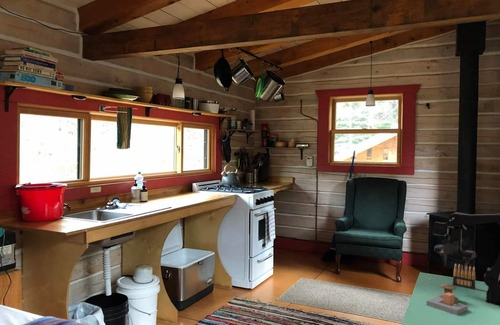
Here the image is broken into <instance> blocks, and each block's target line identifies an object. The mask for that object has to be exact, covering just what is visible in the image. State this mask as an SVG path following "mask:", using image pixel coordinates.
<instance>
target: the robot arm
mask: <svg viewBox="0 0 500 325" xmlns="http://www.w3.org/2000/svg"><path fill="white" fill-rule="evenodd" d="M433 223H434V224H433V228H432V234H433V235H434V236H442V237H446V236H447V235H448V239H447V240H446V243H445V244H437V245H435V246H434V248H433V250H434V252H436V253H437V254H438V255H440V259H441V260H442V264H443V266H444V267H446V266H447V261H448V255H453V254H458V255H462V256H463V257H461V258H462V264H461V269H462V270H463V271H464V272H465V268H466V266H467V267H468V264H469V263H470V260H473V259H475V258H477V252H476V251H474V250H469V249H467V250H463V247H462V243H463V240H464V239H462V238H463V237H462V235H463V234H462V233H463V231H466V230H467V229H468V228H467V227H466V226H465V225H464V224H468V223H496V224H498V225H499V226H500V213H491V214H490V213H485V214H484V213H483V214H469V213H463V212H454V213H451V214H450V215H449V216H448V220H447V221H446V222H439V221H435V222H433ZM452 225H454V226H452ZM483 282H484V285H485V286H487V290H486V298H485V299H486V300H485V302H487V303H490V304H492V305H498V306H500V252H499V253H498V255H497V258H496V260H495V261H494V264H493V266H492V267H491V268H490V267H487V269H486V270H485V273H484V275H483Z"/></svg>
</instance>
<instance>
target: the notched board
mask: <svg viewBox="0 0 500 325" xmlns="http://www.w3.org/2000/svg"><path fill="white" fill-rule="evenodd" d="M426 306H429V307H432V308H435V309H438V310H440V311H444V312H447V313H449V314H453V315H456V316H458V315H460V314H462V313H465V312H467V311H468V310H469V308H468V307H469V306H468V305H466V304H463V303H460V302H457V303H454V305H453V306H449V305H446V304H443V298H441V297H438V296H436V297H433V298H430V299H427V300H426Z"/></svg>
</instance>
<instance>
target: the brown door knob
mask: <svg viewBox="0 0 500 325" xmlns="http://www.w3.org/2000/svg"><path fill="white" fill-rule="evenodd" d="M440 287H441V288H442V289H443V290H444V291H443V293H440V294H438V295H437V297H441V298H443V297H444V294H445V293H452V294H453V292H454V291H456V290H457V287H458V286H454V285H453V284H449V283H441V284H440ZM458 303H459V297H457V296H455V295H454V304H458Z"/></svg>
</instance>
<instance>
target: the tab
mask: <svg viewBox="0 0 500 325" xmlns="http://www.w3.org/2000/svg"><path fill="white" fill-rule="evenodd" d="M443 294H444V293H443ZM454 296H455V294H454V293H453V292H452V293H445V294H444V297H443V304H446V305H449V306H453V305H455V303H454Z"/></svg>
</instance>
